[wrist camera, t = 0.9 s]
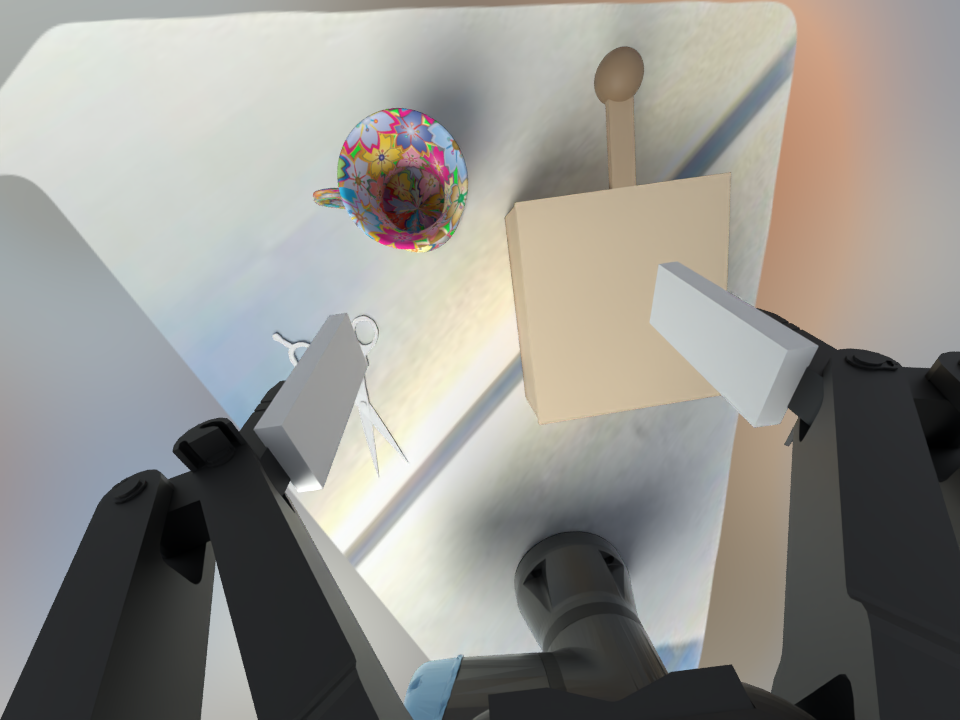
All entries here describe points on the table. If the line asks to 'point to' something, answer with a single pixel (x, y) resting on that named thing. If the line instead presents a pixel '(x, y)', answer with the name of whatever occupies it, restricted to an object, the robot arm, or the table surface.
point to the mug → (400, 180)
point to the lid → (615, 272)
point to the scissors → (361, 401)
